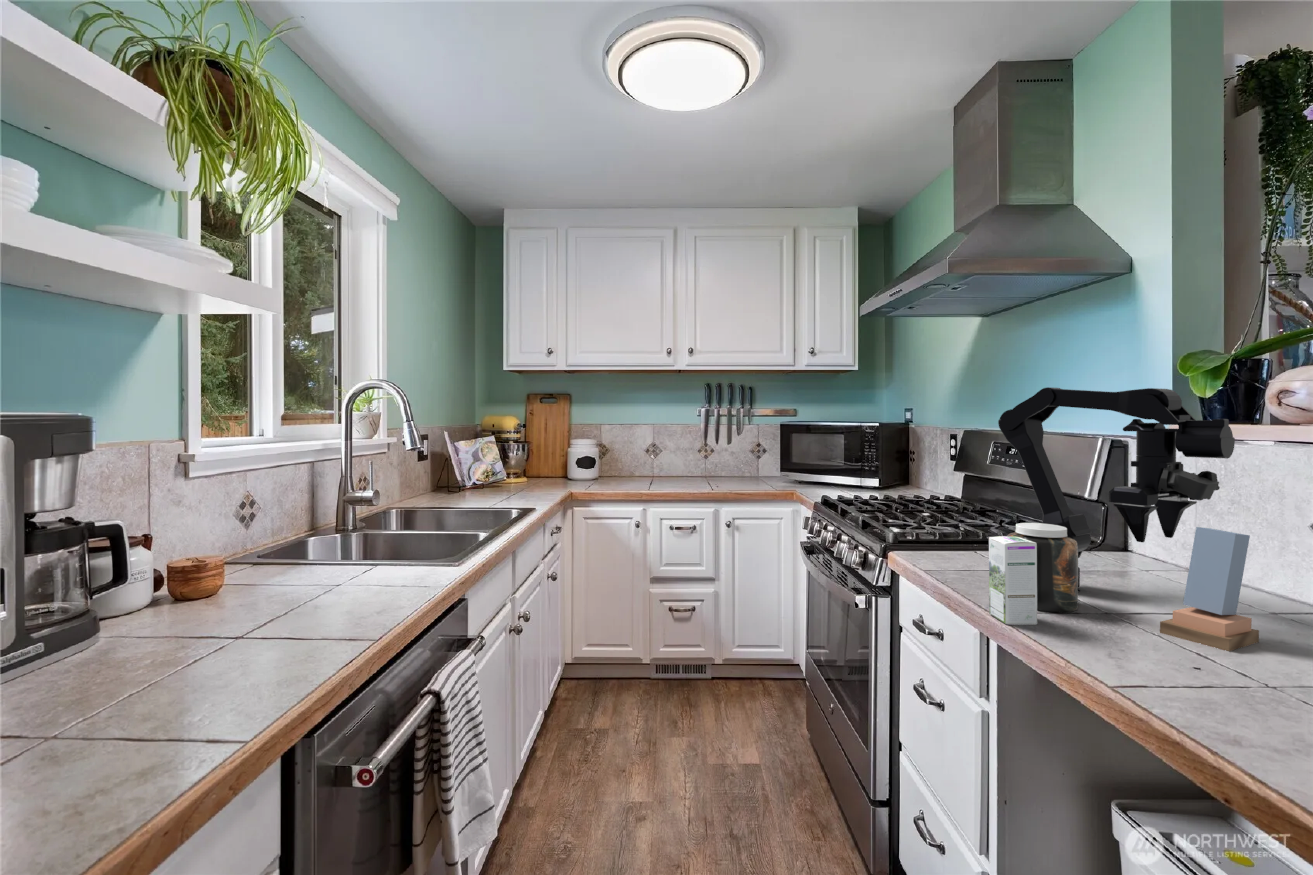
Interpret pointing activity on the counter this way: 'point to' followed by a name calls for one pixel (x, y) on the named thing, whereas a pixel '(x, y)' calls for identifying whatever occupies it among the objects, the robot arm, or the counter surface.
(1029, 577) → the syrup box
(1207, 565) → the slate blue block
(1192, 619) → the terracotta block
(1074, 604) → the jar
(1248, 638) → the walnut block
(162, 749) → the counter surface
